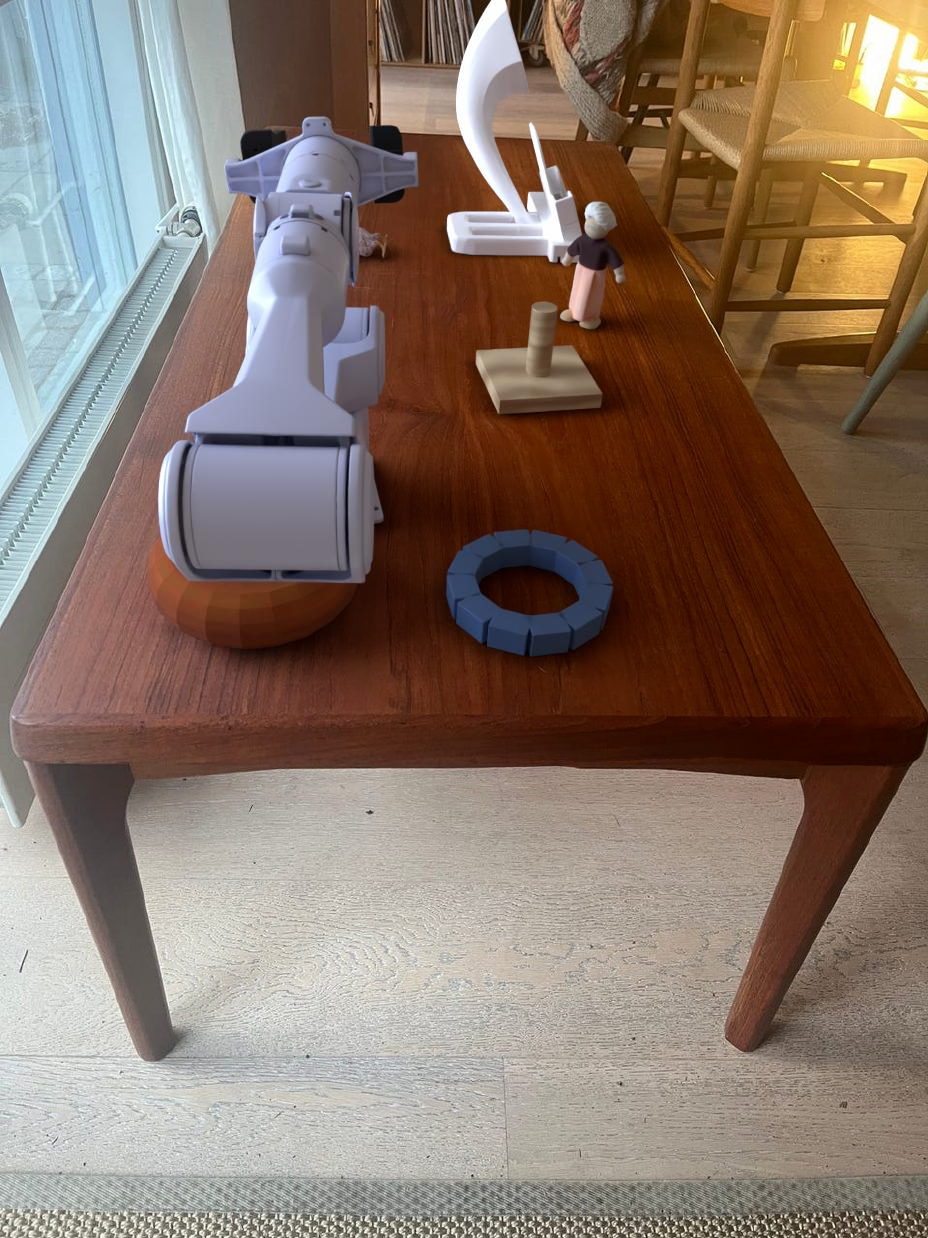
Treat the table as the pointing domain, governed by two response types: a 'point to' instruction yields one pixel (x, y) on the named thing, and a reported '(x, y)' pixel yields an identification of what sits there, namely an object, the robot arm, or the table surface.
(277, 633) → the donut
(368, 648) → the table surface
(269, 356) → the robot arm
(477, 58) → the jewelry stand
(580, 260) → the grandmother figurine
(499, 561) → the ring
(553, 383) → the stand
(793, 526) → the table surface
